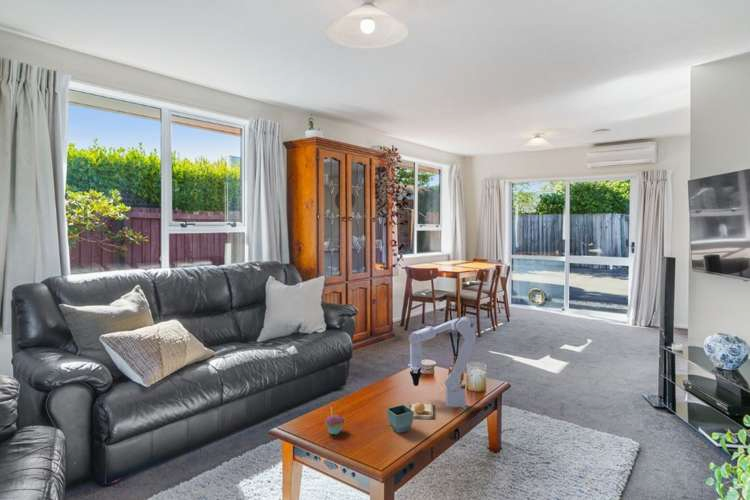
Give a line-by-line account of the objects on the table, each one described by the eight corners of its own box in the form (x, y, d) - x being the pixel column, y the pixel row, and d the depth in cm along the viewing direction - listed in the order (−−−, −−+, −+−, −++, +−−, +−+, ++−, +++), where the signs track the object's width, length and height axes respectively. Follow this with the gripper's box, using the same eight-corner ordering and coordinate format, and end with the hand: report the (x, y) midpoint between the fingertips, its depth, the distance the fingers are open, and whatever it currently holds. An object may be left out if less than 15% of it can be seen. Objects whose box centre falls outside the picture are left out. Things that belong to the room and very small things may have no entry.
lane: (432, 406, 220) (432, 404, 220) (432, 421, 204) (432, 418, 204) (408, 406, 222) (407, 403, 222) (406, 420, 205) (406, 418, 205)
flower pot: (396, 436, 189) (396, 415, 189) (386, 428, 197) (386, 408, 197) (414, 432, 194) (414, 411, 193) (403, 424, 201) (403, 404, 201)
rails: (432, 406, 220) (432, 401, 220) (432, 421, 204) (432, 416, 204) (408, 406, 222) (407, 401, 222) (406, 420, 205) (406, 415, 205)
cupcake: (336, 438, 189) (335, 409, 188) (320, 433, 193) (319, 406, 193) (348, 430, 196) (347, 403, 196) (332, 426, 201) (332, 399, 200)
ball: (425, 415, 211) (424, 406, 215) (424, 409, 208) (424, 400, 212) (414, 415, 211) (414, 406, 215) (413, 409, 208) (413, 400, 212)
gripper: (408, 352, 233) (408, 378, 234) (407, 360, 219) (407, 387, 219) (422, 352, 232) (422, 378, 233) (421, 360, 218) (422, 388, 218)
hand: (416, 383), depth 226 cm, fingers open, 7 cm apart
